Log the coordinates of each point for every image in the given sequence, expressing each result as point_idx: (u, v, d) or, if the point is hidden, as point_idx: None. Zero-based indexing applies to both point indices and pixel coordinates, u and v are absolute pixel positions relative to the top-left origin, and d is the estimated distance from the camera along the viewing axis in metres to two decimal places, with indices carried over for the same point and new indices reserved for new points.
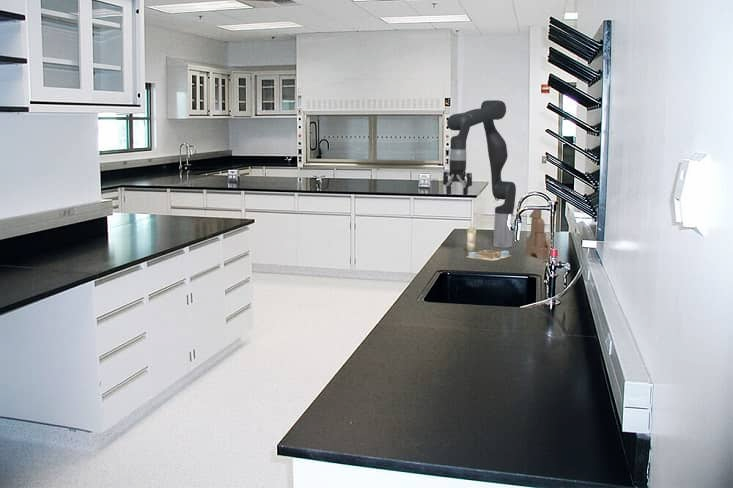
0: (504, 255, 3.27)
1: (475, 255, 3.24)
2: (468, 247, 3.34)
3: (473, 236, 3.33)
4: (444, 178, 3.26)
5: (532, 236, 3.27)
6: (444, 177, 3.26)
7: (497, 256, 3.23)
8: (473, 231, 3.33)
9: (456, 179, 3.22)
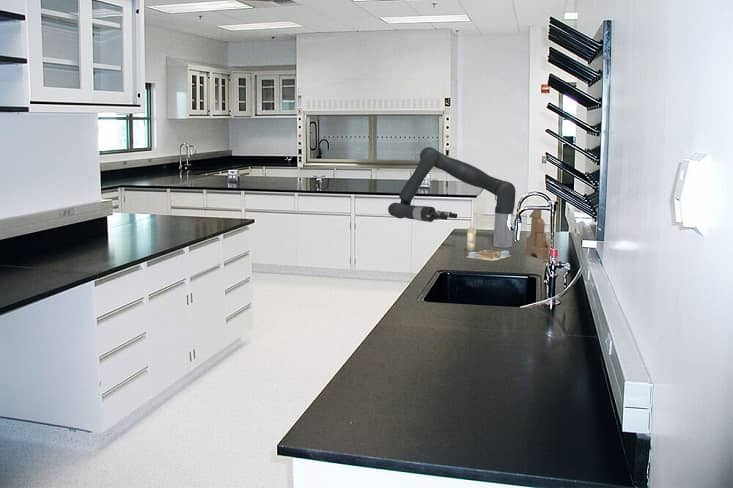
0: (504, 255, 3.27)
1: (475, 255, 3.24)
2: (468, 247, 3.34)
3: (473, 236, 3.33)
4: None
5: (533, 236, 3.27)
6: None
7: (497, 256, 3.23)
8: (473, 231, 3.33)
9: None
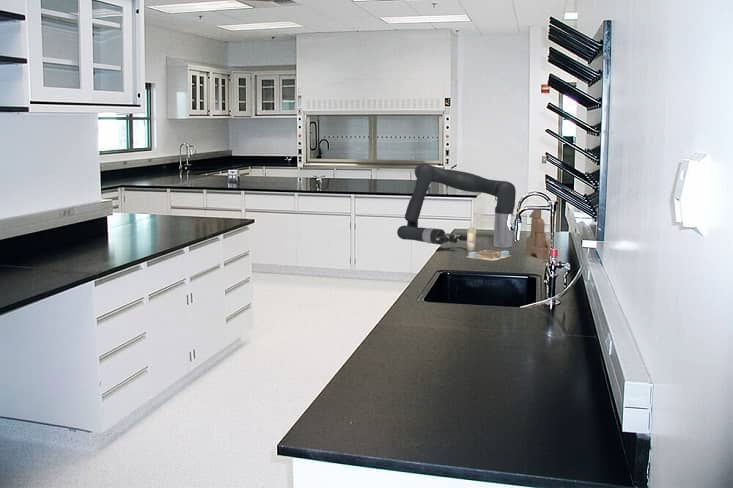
0: (504, 255, 3.27)
1: (475, 255, 3.24)
2: (468, 247, 3.34)
3: (473, 236, 3.33)
4: None
5: (532, 236, 3.27)
6: None
7: (497, 256, 3.23)
8: (473, 231, 3.33)
9: None
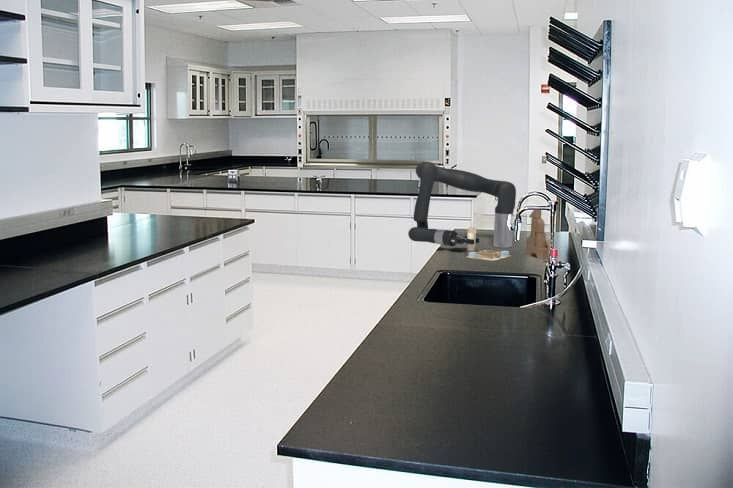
0: (504, 255, 3.27)
1: (475, 255, 3.24)
2: (468, 247, 3.34)
3: (473, 236, 3.33)
4: None
5: (532, 236, 3.27)
6: None
7: (497, 256, 3.23)
8: (473, 231, 3.33)
9: (461, 241, 3.38)
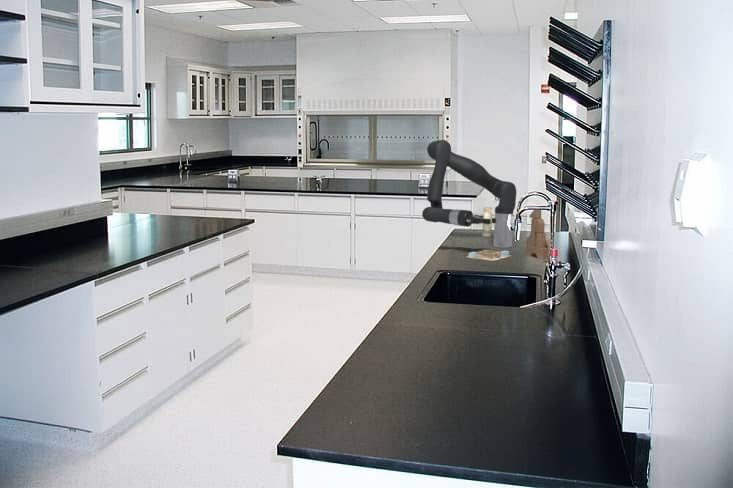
0: (504, 255, 3.27)
1: (475, 255, 3.24)
2: (484, 227, 3.23)
3: (489, 216, 3.22)
4: None
5: (532, 236, 3.27)
6: None
7: (497, 256, 3.23)
8: (489, 210, 3.21)
9: None
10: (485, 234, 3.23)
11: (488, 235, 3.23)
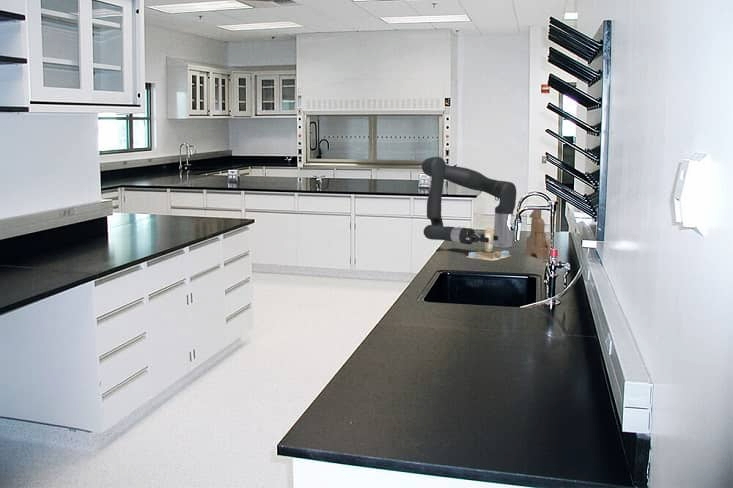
0: (504, 255, 3.27)
1: (475, 255, 3.24)
2: (486, 248, 3.24)
3: (491, 237, 3.22)
4: None
5: (532, 236, 3.27)
6: None
7: (497, 256, 3.23)
8: (491, 232, 3.22)
9: None
10: None
11: None
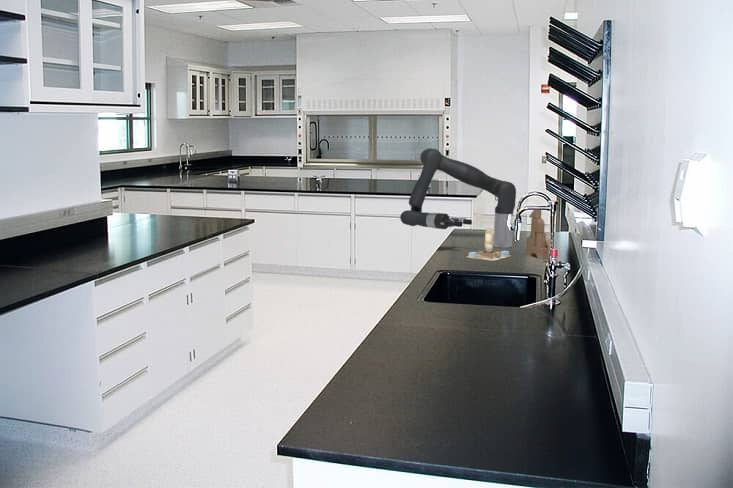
0: (504, 255, 3.27)
1: (475, 255, 3.24)
2: (486, 248, 3.23)
3: (491, 237, 3.22)
4: None
5: (532, 236, 3.27)
6: None
7: (497, 256, 3.23)
8: (491, 232, 3.22)
9: None
10: None
11: None
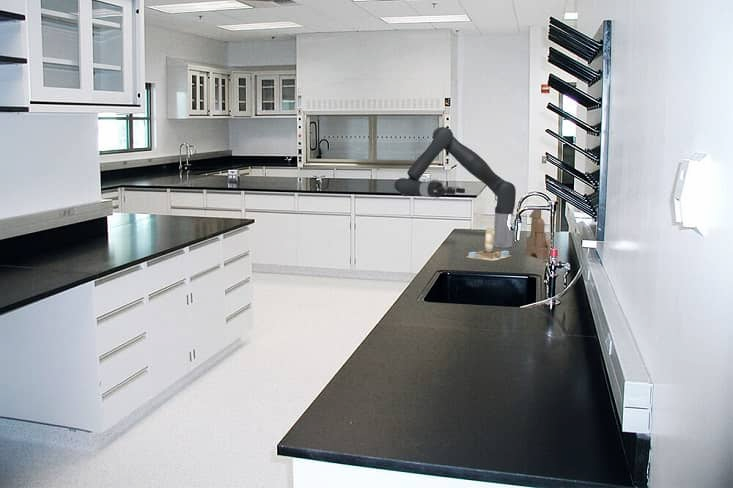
0: (504, 255, 3.27)
1: (475, 255, 3.24)
2: (486, 248, 3.23)
3: (491, 237, 3.22)
4: None
5: (532, 236, 3.27)
6: None
7: (497, 256, 3.23)
8: (492, 232, 3.22)
9: None
10: None
11: None
